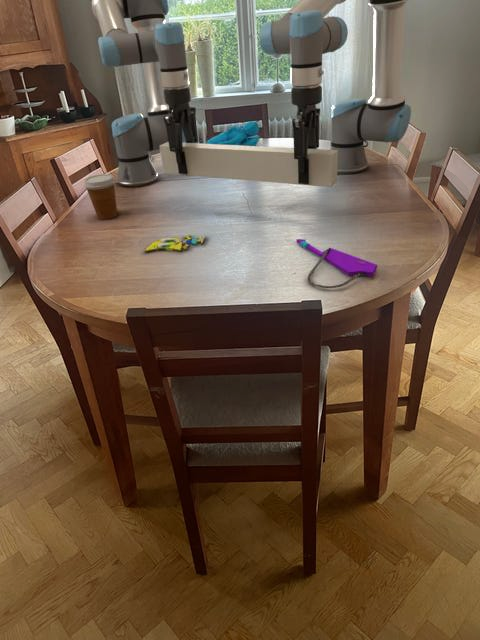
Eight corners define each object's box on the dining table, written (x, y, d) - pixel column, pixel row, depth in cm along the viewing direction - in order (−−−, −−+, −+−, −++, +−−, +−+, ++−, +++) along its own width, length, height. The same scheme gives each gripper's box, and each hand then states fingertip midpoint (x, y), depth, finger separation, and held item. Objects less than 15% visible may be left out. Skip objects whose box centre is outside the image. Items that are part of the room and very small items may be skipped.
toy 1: (199, 248, 125) (143, 249, 127) (199, 251, 125) (144, 252, 127) (206, 233, 133) (154, 234, 135) (206, 236, 133) (154, 237, 136)
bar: (163, 173, 149) (159, 145, 144) (172, 169, 152) (167, 141, 147) (331, 187, 126) (332, 154, 121) (337, 181, 129) (337, 150, 124)
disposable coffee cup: (86, 219, 152) (76, 182, 146) (104, 209, 159) (95, 173, 153) (111, 222, 149) (102, 183, 142) (128, 211, 156) (120, 174, 149)
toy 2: (197, 135, 216) (259, 115, 206) (205, 158, 221) (266, 140, 211) (186, 144, 203) (252, 124, 192) (195, 169, 208) (260, 150, 198)
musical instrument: (357, 300, 100) (389, 251, 113) (357, 292, 99) (389, 243, 111) (259, 284, 113) (297, 241, 125) (258, 277, 112) (296, 234, 124)
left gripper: (169, 93, 126) (182, 181, 139) (204, 82, 138) (212, 163, 152) (146, 93, 129) (161, 178, 142) (182, 82, 142) (192, 161, 155)
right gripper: (307, 92, 109) (308, 192, 122) (333, 79, 122) (331, 171, 135) (277, 92, 113) (281, 189, 126) (305, 80, 125) (306, 169, 138)
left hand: (187, 170), depth 147 cm, fingers closed on bar, 4 cm apart
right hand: (307, 180), depth 130 cm, fingers closed on bar, 4 cm apart
